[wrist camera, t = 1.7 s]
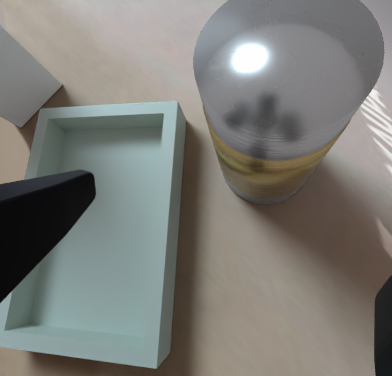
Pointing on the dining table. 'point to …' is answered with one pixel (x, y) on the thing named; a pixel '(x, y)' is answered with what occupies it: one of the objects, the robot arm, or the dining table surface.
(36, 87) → the milk
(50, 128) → the pale green tray
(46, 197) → the robot arm
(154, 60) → the dining table surface
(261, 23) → the tin can
